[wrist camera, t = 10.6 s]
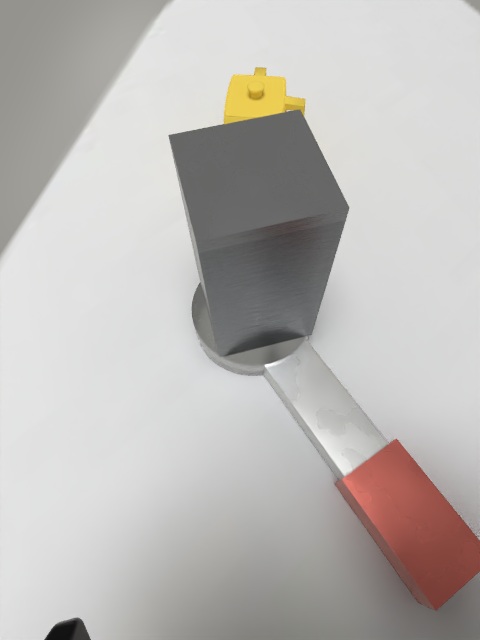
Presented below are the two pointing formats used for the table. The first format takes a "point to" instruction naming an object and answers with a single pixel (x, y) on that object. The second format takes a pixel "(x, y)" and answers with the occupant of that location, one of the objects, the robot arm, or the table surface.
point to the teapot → (258, 97)
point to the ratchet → (363, 466)
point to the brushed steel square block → (259, 226)
